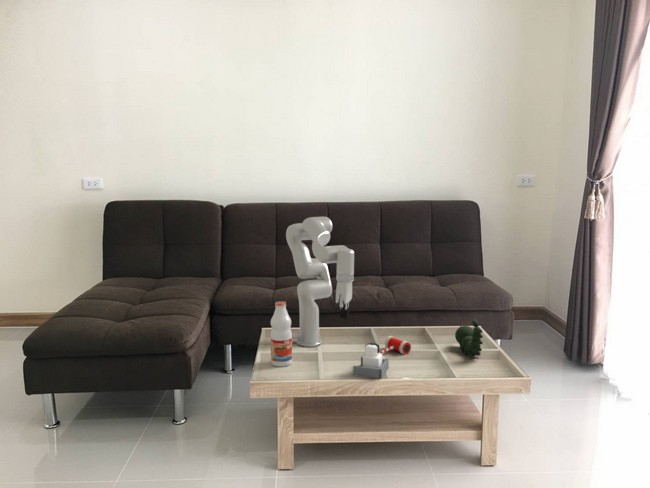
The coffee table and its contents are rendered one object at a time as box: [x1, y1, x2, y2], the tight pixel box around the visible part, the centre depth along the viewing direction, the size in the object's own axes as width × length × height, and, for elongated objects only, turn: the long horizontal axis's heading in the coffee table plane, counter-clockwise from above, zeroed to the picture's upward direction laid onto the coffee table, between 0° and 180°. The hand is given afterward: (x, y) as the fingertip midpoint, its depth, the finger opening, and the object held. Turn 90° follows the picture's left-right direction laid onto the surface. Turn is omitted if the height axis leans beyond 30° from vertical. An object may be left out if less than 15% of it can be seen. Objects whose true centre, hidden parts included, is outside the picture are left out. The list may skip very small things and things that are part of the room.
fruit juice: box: [270, 300, 293, 368], centre depth 260 cm, size 9×9×28 cm
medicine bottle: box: [362, 342, 383, 368], centre depth 251 cm, size 7×7×12 cm
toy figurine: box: [454, 318, 484, 357], centre depth 275 cm, size 9×19×25 cm
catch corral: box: [352, 355, 390, 380], centre depth 250 cm, size 12×13×4 cm
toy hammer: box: [379, 335, 412, 355], centre depth 272 cm, size 23×12×6 cm, turn 128°
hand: (344, 317), depth 258 cm, fingers closed
